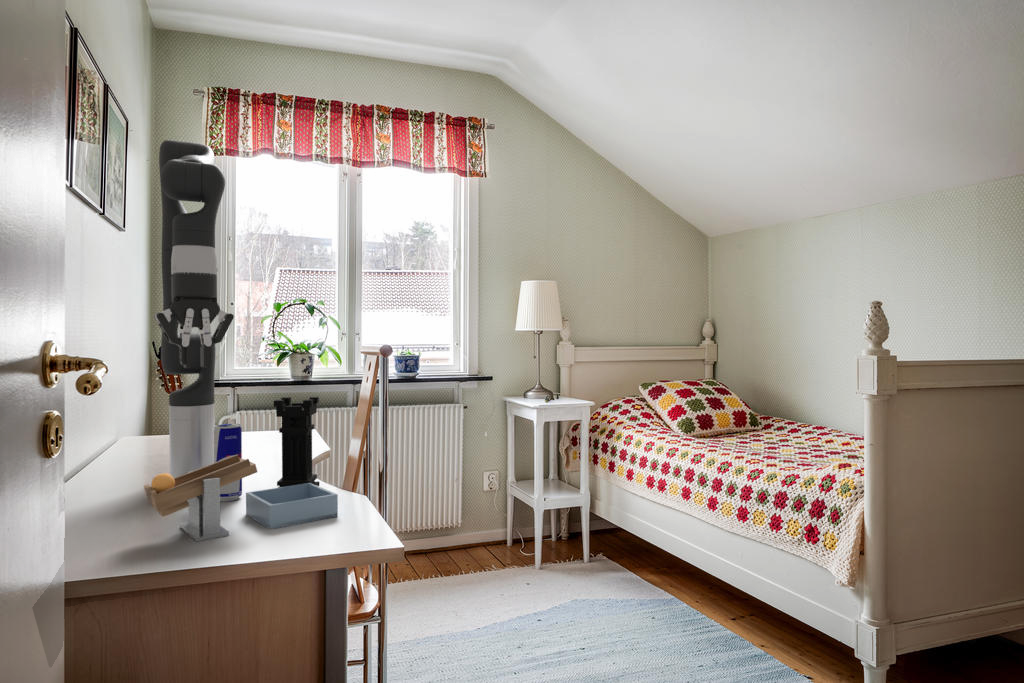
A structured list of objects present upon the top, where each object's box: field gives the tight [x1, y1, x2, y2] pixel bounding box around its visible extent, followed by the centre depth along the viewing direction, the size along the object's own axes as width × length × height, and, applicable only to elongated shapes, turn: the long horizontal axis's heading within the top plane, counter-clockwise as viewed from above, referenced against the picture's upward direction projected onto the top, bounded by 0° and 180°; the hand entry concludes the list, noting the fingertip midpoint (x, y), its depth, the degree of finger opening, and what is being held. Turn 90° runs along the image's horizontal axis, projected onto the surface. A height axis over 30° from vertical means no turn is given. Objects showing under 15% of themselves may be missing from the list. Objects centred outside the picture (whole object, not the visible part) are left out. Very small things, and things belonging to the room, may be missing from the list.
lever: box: [143, 454, 258, 517], centre depth 114 cm, size 11×16×4 cm
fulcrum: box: [179, 471, 230, 542], centre depth 112 cm, size 10×5×10 cm, turn 40°
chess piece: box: [273, 396, 320, 488], centre depth 135 cm, size 8×8×20 cm
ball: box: [150, 472, 175, 493], centre depth 108 cm, size 3×3×3 cm
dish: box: [245, 483, 339, 530], centre depth 122 cm, size 12×12×4 cm
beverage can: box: [214, 423, 243, 502], centre depth 134 cm, size 5×5×15 cm
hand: (195, 366), depth 122 cm, fingers open, 2 cm apart
